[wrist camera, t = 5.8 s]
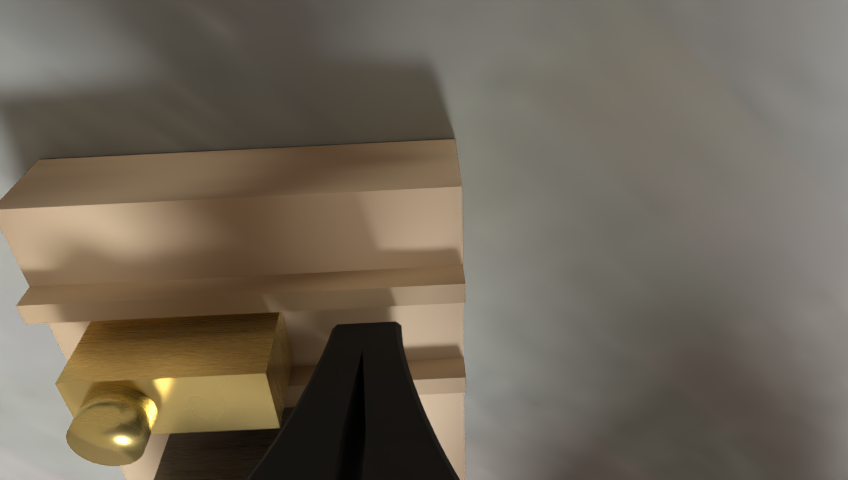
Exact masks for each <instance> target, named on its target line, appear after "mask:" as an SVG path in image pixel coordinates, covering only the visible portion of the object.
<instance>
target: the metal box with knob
mask: <svg viewBox="0 0 848 480" xmlns="http://www.w3.org/2000/svg"><path fill="white" fill-rule="evenodd" d="M293 409H294V407H287V408H284V409H283V414H282V420H281V425H280V428H271V429H251V430H230V431H210V432H190V433H170V435H169V438H168V440H167V443H166V446H165V449H164V452H163V455H162V457H161V460H160V463H159V466H158V469H157V472H156V474H155V477H154V480H246V479H247V478H248V476H249V475H250V474H251V472H252V471H253V470H254V468H255V467H256V465H257V464H258V463H259V461H260V460H261V459H262V457H263V456H264V454H265V453H266V452H267V450H268V449H269V447H270V446H271V444H272V443H273V441H274V440H275V438H276V437H277V435H278V433H279V432H280V430H281V429H282V427H283V425H284V424H285V422H286V421H287V419H288V417H289V416H290V414H291V412H292V411H293Z"/></svg>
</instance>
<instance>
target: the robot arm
mask: <svg viewBox="0 0 848 480" xmlns="http://www.w3.org/2000/svg"><path fill="white" fill-rule="evenodd" d="M246 480H460V479H459V477H458V475H457V474H456V472H455V470H454V468H453V467H452V465H451V463H450V461H449V459H448V458H447V456H446V454H445V452H444V450H443V448H442V446H441V444H440V442H439V440H438V438H437V436H436V434H435V432H434V430H433V428H432V426H431V424H430V421H429V419H428V417H427V415H426V412H425V410H424V408H423V405H422V403H421V400H420V398H419V395H418V392H417V390H416V387H415V384H414V382H413V379H412V376H411V373H410V370H409V366H408V363H407V359H406V355H405V351H404V346H403V337H402V326H401V325H400V324H399V323H397V322H396V321H394V322H374V323H354V324H337V325H336V326H335V327H334V328H333V329H332V331H331V334H330V337H329V339H328V342H327V344H326V347H325V349H324V351H323V354H322V356H321V358H320V360H319V362H318V364H317V366H316V368H315V370H314V372H313V374H312V376H311V378H310V380H309V382H308V384H307V386H306V388H305V389H304V391H303V393H302V395H301V397H300V399H299V400H298V402H297V404H296V406H295V407H294V409H293V411H292V412H291V414H290V416H289V417H288V419H287V421H286V422H285V424H284V425H283V427H282V429H281V430H280V432H279V433H278V435H277V437H276V438H275V440H274V441H273V443H272V444H271V446H270V447H269V449H268V450H267V452H266V453H265V454H264V456H263V457H262V459H261V460H260V461H259V463H258V464H257V465H256V467H255V468H254V470H253V471H252V472H251V474H250V475H249V476H248V478H247V479H246Z"/></svg>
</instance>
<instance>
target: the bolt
mask: <svg viewBox="0 0 848 480" xmlns="http://www.w3.org/2000/svg"><path fill="white" fill-rule="evenodd" d="M292 361H293V354H292V349H291V345H290V340H289V336H288V331H287V326H286V322H285V317H284V313H283V312H268V313H248V314H228V315H208V316H187V317H167V318H147V319H127V320H106V321H91V322H90V324H89V325H88V327H87V329H86V331H85V332H84V334H83V336H82V338H81V339H80V341H79V343H78V345H77V346H76V348H75V350H74V352H73V354H72V355H71V357H70V359H69V361H68V362H67V364H66V366H65V368H64V369H63V371H62V373H61V375H60V376H59V378H58V380H57V382H56V383H55V384H56V386H57V388H58V390H59V392H60V393H61V395H62V397H63V399H64V401H65V403H66V405H67V407H68V408H69V410H70V412H71V414H72V416H73V418H74V419H73V421H72V423H71V425H70V427H69V429H68V431H67V434H66V439H67V442H68V445H69V446H70V448H71V449H72V450H73V451H74V452H75V453H76V454H78V455H79V456H81V457H82V458H84V459H86V460H88V461H91V462H93V463H97V464H101V465H107V466H123V465H127V464H131V463H133V462H135V461H137V460H138V459H140V458H141V457H142V455H143V453H144V451H145V448H146V446H147V443H148V441H149V438H150V435H151V434H169V433H190V432H210V431H230V430H251V429H271V428H280V425H281V420H282V414H283V409H284V404H285V398H286V393H287V388H288V382H289V377H290V372H291V366H292Z"/></svg>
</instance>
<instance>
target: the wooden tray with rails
mask: <svg viewBox="0 0 848 480" xmlns="http://www.w3.org/2000/svg"><path fill="white" fill-rule="evenodd" d="M0 229H1V231H2V233H3V235H4V237H5V239H6V241H7V243H8V245H9V247H10V249H11V251H12V252H13V254H14V256H15V258H16V260H17V262H18V264H19V266H20V268H21V270H22V272H23V274H24V276H25V278H26V280H27V282H28V284H29V286H30V287H29V289H28V290H27V291H26V293H25V294H24V296H23V297H22V298H21V300H20V301H19V303H18V304H17V305H16V307H17V309H18V311H19V313H20V315H21V316H22V318H23V320H24V322H25V324H46V323H48V324H49V326H50V328H51V330H52V332H53V334H54V336H55V338H56V340H57V342H58V344H59V346H60V348H61V350H62V352H63V354H64V356H65V358H66V360H67V362H68V361H69V359H70V357H71V355H72V354H73V352H74V350H75V348H76V346H77V345H78V343H79V341H80V339H81V338H82V336H83V334H84V332H85V331H86V329H87V327H88V325H89V324H90V322H91V321H106V320H127V319H147V318H167V317H187V316H208V315H228V314H248V313H268V312H283V313H284V317H285V322H286V326H287V331H288V336H289V340H290V345H291V349H292V354H293V361H292V366H291V372H290V377H289V382H288V388H287V393H286V398H285V404H284V408H287V407H295V406H296V404H297V402H298V400H299V399H300V397H301V395H302V393H303V391H304V389H305V388H306V386H307V384H308V382H309V380H310V378H311V376H312V374H313V372H314V370H315V368H316V366H317V364H318V362H319V360H320V358H321V356H322V354H323V351H324V349H325V347H326V344H327V342H328V339H329V337H330V334H331V331H332V329H333V328H334V327H335V326H336V325H337V324H354V323H374V322H394V321H396V322H397V323H399V324H400V325H401V326H402V337H403V346H404V351H405V355H406V359H407V363H408V366H409V370H410V373H411V376H412V379H413V382H414V384H415V387H416V390H417V392H418V395H419V398H420V400H421V403H422V405H423V408H424V410H425V412H426V415H427V417H428V419H429V421H430V424H431V426H432V428H433V430H434V432H435V434H436V436H437V438H438V440H439V442H440V444H441V446H442V448H443V450H444V452H445V454H446V456H447V458H448V459H449V461H450V463H451V465H452V467H453V468H454V470H455V472H456V474H457V475H458V477H459V479H460V480H465V443H464V393H466V375H465V365H464V333H463V303H465V279H464V270H463V224H462V182H461V175H460V168H459V161H458V154H457V148H456V141H455V139H445V140H425V141H405V142H385V143H365V144H345V145H325V146H305V147H285V148H265V149H245V150H225V151H205V152H185V153H165V154H144V155H124V156H104V157H84V158H64V159H44V160H38V161H37V162H36V163H35V164H34V165H33V166H32V167H31V168H30V169H29V170H28V171H27V172H26V174H25V175H24V176H23V177H22V178H21V179H20V180H19V181H18V182H17V183H16V184H15V185H14V186H13V187H12V188H11V189H10V190H9V192H8V193H7V194H6V195H5V196H4V197H3V198H2V199H1V200H0ZM169 435H170V433H169V434H151V435H150V438H149V441H148V443H147V446H146V448H145V451H144V453H143V455H142V457H141V458H140V459H138V460H137V461H135V462H133V463H131V464H127V465H123V466H120V467H121V469H122V471H123V473H124V475H125V477H126V479H127V480H154V477H155V474H156V472H157V469H158V466H159V463H160V460H161V457H162V455H163V452H164V449H165V446H166V443H167V440H168V438H169Z"/></svg>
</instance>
